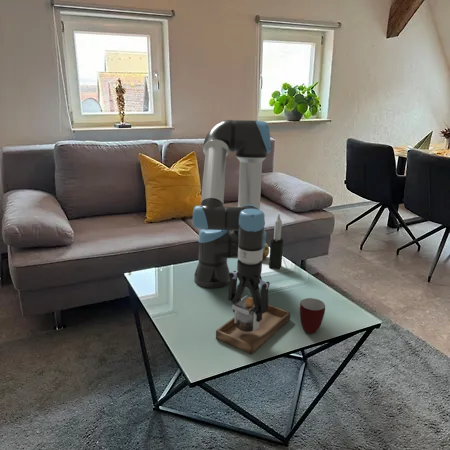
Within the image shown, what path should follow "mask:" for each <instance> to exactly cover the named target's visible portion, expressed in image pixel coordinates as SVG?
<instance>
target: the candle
mask: <svg viewBox="0 0 450 450" xmlns="http://www.w3.org/2000/svg"><path fill="white" fill-rule="evenodd" d="M282 224H283V222H282V219H281V214H280V213H278V214H277V217H276V219H275V220H274V230H273V231H274V232H273V233H274V234H273V237H272V238H271V239H270V245H269V246H270V247H269V261H268V269H273V270H277V271H279V270H281V268H282V261H283V250H284V239H283V238H281V237H282Z"/></svg>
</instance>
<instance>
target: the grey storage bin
mask: <svg viewBox="0 0 450 450" xmlns="http://www.w3.org/2000/svg"><path fill="white" fill-rule="evenodd" d="M247 298H249V295H247V294H246V295H244V296H243V297H241V299H240V300H239V301H237V302H236V303H234V304H233V303H232V306H231V309H232V310H233V309H234V310H236V311H237V328H238V329H239V330H241V331H245V332H250V331H253V316H254V312H255V311H256V310H255V305H253V306H252V307H248V306H246V304H245V300H246V299H247Z"/></svg>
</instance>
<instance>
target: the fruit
mask: <svg viewBox="0 0 450 450" xmlns="http://www.w3.org/2000/svg"><path fill="white" fill-rule="evenodd" d="M269 255H270V247H269V244H267V242H265V247H264V252H263V256H262V260H264V259H266V258H267V257H268V256H269Z"/></svg>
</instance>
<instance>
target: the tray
mask: <svg viewBox="0 0 450 450" xmlns="http://www.w3.org/2000/svg"><path fill="white" fill-rule="evenodd" d="M234 318H235V316H234V317H232V318H231V319H229V320H228V321H227V322H225V323H224V324H223V325H221V326H220V327H219V328H217V329H216V330H215V340H218V341H221V342H223V343H225V344H227V345H230V346H232V347H234V348H235V349H238V350H240V351H243V352H245V353H247V354H249V355H252V356H253V354H254V353H255V352H257V350H258V349H259V348H261V347H262V346H263V345H264V344H265V343H266V342H267V341H268V340H269V339H271V338H272V337H273V336H274V335H275V334H276V333H277V332H278V331H279V330H280V329H281V328H283V327H284V326H285V325H286V324H287V323H288V322H289V321H290V318H291V312H289V311H286V310H285V309H282V308H279V307H276V306H273V305H270V304H268V311H266V312H265V313H264V314H263V313H262V320H261V321H260V322H259V328H258V329H257V330H256V331H250V332H245V331H241V330H239V329H238V328H237V323H234Z"/></svg>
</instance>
